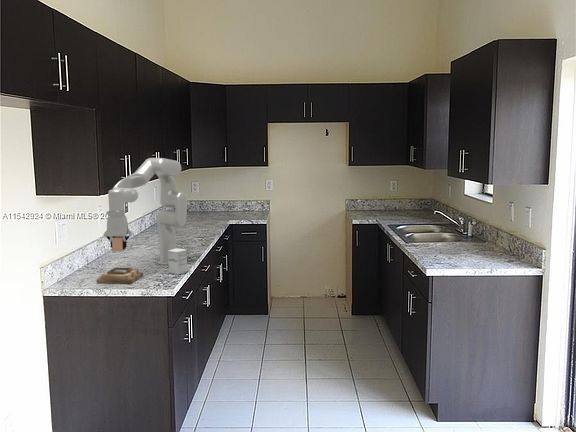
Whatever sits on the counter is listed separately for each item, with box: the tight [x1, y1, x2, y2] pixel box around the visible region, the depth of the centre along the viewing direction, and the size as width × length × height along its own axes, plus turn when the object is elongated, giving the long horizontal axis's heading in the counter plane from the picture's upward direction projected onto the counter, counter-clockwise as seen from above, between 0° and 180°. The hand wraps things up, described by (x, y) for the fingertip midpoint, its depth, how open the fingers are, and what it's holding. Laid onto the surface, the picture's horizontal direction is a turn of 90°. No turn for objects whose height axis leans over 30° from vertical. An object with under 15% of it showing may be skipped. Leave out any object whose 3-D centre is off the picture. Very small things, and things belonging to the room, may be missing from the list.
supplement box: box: [168, 247, 188, 275], centre depth 288 cm, size 7×7×13 cm
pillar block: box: [111, 236, 126, 252], centre depth 271 cm, size 5×5×7 cm
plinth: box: [96, 267, 144, 285], centre depth 274 cm, size 16×18×5 cm
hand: (118, 248), depth 272 cm, fingers closed on pillar block, 5 cm apart
